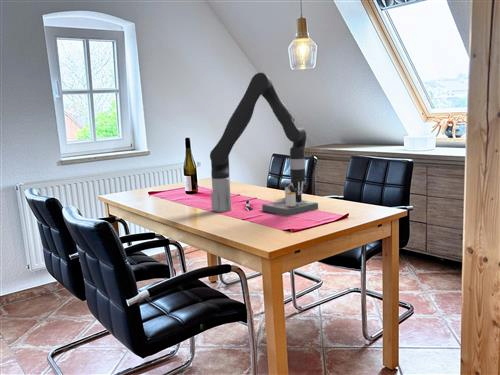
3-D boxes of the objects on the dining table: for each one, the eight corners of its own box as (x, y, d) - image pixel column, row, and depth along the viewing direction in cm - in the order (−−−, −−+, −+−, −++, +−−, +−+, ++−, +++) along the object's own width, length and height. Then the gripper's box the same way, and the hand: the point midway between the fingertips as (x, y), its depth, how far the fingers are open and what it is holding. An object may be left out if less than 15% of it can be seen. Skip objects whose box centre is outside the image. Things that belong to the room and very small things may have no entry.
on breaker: (290, 200, 250) (289, 188, 249) (285, 200, 253) (284, 187, 252) (294, 200, 252) (294, 187, 251) (289, 199, 255) (289, 186, 254)
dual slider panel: (287, 215, 232) (286, 209, 232) (262, 210, 247) (262, 204, 247) (318, 208, 245) (318, 202, 244) (292, 203, 260) (292, 198, 259)
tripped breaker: (291, 206, 236) (290, 193, 235) (285, 205, 239) (285, 192, 238) (295, 205, 238) (295, 192, 237) (290, 204, 241) (290, 191, 240)
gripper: (292, 169, 232) (293, 205, 235) (312, 166, 240) (313, 201, 243) (282, 168, 238) (283, 203, 241) (302, 165, 246) (303, 199, 249)
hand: (298, 202), depth 242 cm, fingers closed
